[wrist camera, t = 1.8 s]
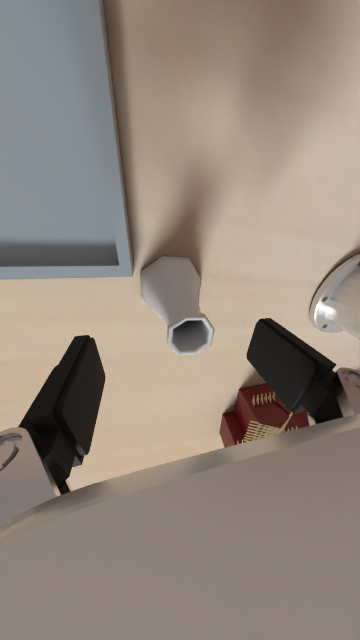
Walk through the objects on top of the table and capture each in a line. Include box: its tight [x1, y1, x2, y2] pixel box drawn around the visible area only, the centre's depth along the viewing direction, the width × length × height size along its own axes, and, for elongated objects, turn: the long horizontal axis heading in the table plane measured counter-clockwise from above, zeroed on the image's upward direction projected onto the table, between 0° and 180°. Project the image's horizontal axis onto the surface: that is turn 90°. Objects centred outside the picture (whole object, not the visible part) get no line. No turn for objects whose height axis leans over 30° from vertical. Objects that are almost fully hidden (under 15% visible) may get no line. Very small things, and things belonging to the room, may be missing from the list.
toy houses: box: [220, 383, 309, 448], centre depth 35 cm, size 45×20×10 cm, turn 92°
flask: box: [140, 256, 214, 355], centre depth 15 cm, size 7×7×10 cm
